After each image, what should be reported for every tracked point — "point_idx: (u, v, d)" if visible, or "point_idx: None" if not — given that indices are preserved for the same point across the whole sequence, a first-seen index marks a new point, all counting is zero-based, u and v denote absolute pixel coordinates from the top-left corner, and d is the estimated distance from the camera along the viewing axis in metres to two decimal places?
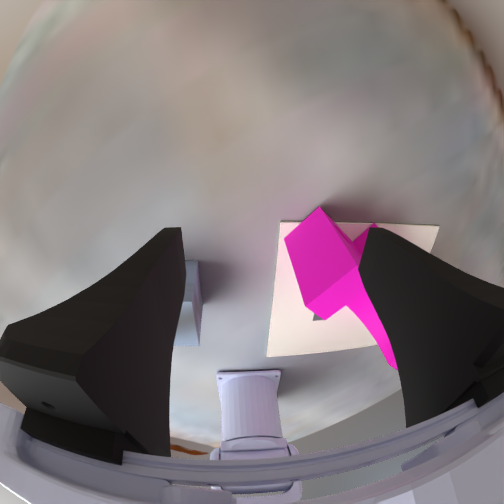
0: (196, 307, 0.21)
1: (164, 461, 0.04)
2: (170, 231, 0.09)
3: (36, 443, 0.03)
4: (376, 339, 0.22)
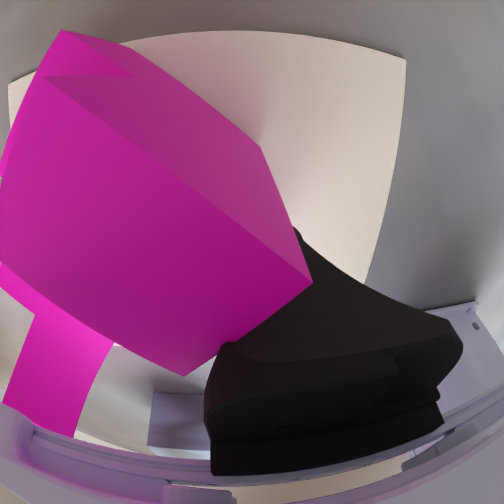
0: (174, 431, 0.16)
1: (164, 461, 0.04)
2: None
3: (36, 443, 0.03)
4: None
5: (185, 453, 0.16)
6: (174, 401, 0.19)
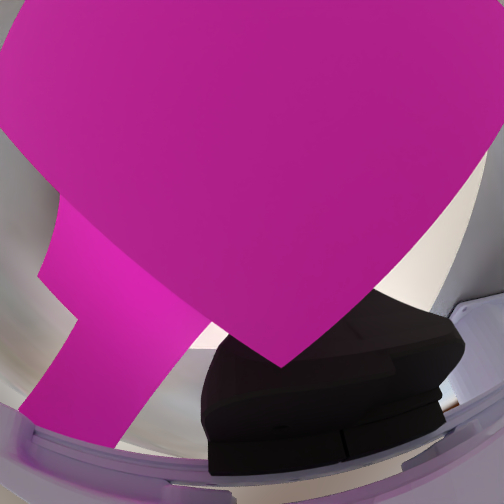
0: None
1: (164, 461, 0.04)
2: None
3: (36, 443, 0.03)
4: None
5: None
6: None
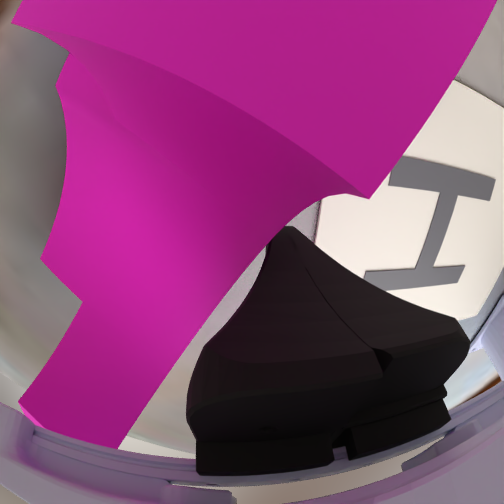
0: None
1: (164, 461, 0.04)
2: (283, 230, 0.09)
3: (36, 443, 0.03)
4: (285, 211, 0.04)
5: None
6: None
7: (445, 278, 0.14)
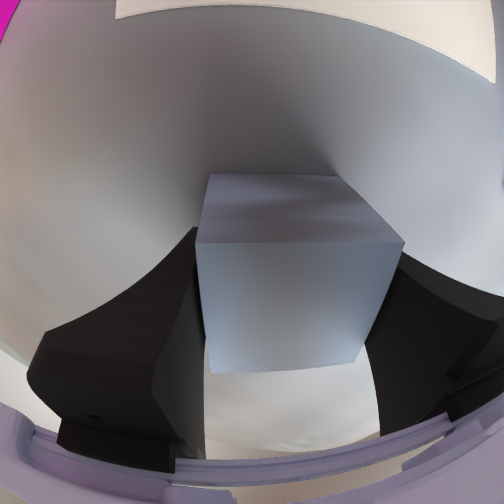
0: (279, 212, 0.07)
1: None
2: None
3: (36, 443, 0.03)
4: None
5: (311, 284, 0.07)
6: (261, 179, 0.09)
7: None
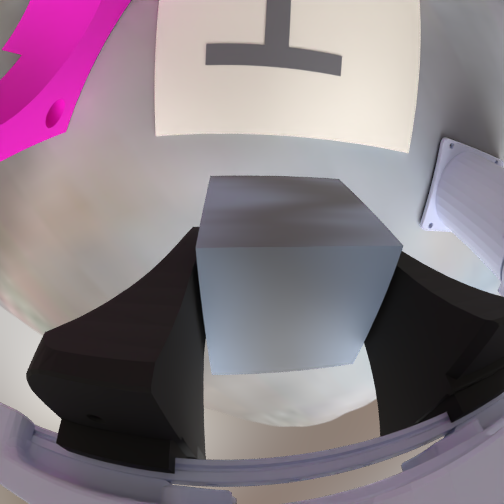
0: (279, 216, 0.07)
1: None
2: None
3: (36, 443, 0.03)
4: None
5: (310, 288, 0.07)
6: (261, 182, 0.09)
7: (316, 64, 0.13)
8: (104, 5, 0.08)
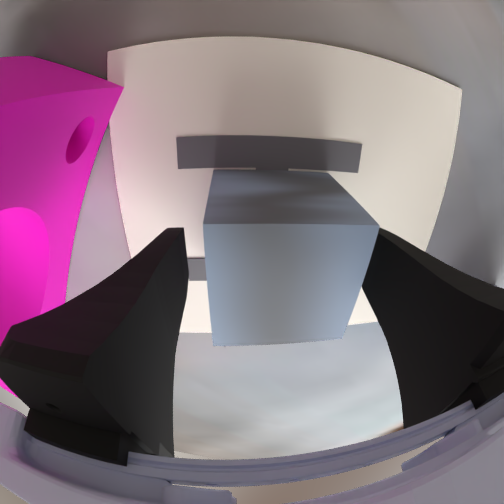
0: (272, 201, 0.08)
1: (164, 461, 0.04)
2: (173, 231, 0.09)
3: (36, 443, 0.03)
4: None
5: (299, 261, 0.08)
6: (258, 175, 0.11)
7: None
8: (55, 235, 0.10)
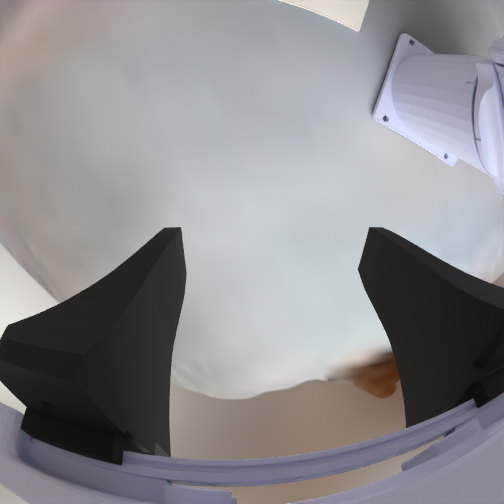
0: None
1: (164, 461, 0.04)
2: (170, 231, 0.09)
3: (36, 443, 0.03)
4: None
5: None
6: None
7: None
8: None
